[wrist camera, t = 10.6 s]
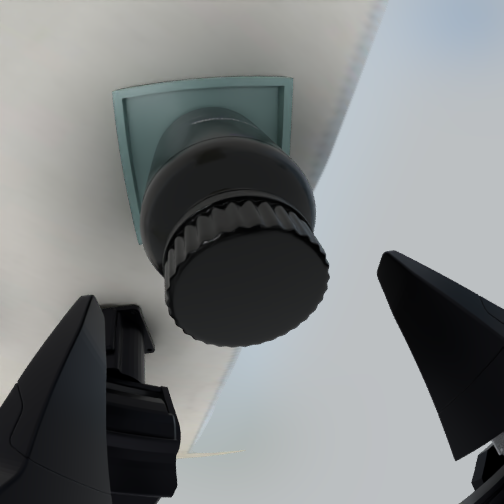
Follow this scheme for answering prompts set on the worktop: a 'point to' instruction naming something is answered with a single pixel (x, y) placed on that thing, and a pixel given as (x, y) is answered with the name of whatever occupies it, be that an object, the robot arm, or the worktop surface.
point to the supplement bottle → (231, 231)
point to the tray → (183, 101)
